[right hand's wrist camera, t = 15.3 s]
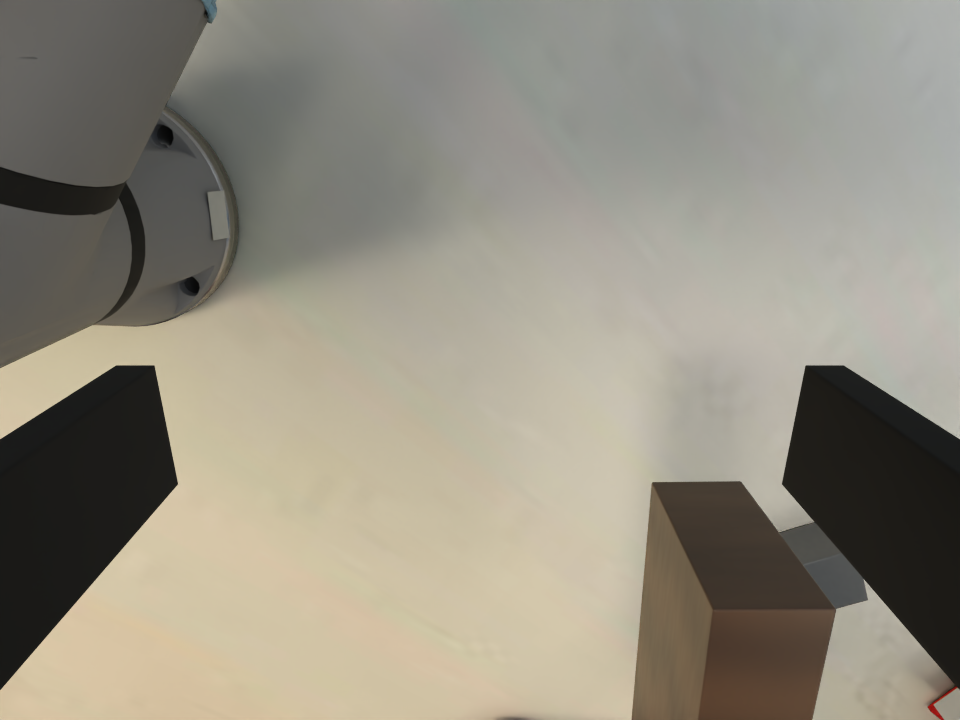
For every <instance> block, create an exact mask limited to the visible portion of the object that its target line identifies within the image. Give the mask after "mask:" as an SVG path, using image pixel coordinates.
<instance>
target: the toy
mask: <svg viewBox="0 0 960 720" xmlns="http://www.w3.org/2000/svg"><path fill="white" fill-rule="evenodd" d="M928 708H929V710H930V711H931V712H932V713H933V714H934V715H936V716H937V717H938V718H939V719H941V720H960V690H959V689H958V687H957V686H955V687H954V688H953V689H951V690H950V691H948V692H947V693H946V694H944V695H943V696H942V697H940V698H939V699H938V700H936V701H935V702H934V703H932V704H931V705H929V706H928Z"/></svg>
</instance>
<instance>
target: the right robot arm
mask: <svg viewBox="0 0 960 720" xmlns="http://www.w3.org/2000/svg"><path fill="white" fill-rule="evenodd" d="M215 2H216V0H0V368H1V367H3V366H6V365H8V364H10V363H12V362H14V361H16V360H18V359H21V358H23V357H25V356H27V355H29V354H31V353H33V352H36V351H38V350H40V349H42V348H44V347H46V346H48V345H51V344H53V343H55V342H57V341H59V340H61V339H63V338H66V337H68V336H70V335H72V334H74V333H76V332H78V331H81V330H83V329H85V328H87V327H89V326H91V325H110V326H148V325H154V324H159V323H162V322H166V321H169V320H171V319H174V318H176V317H178V316H180V315H182V314H184V313H185V312H187V311H189V310H191V309H193V308H195V307H196V306H198V305H199V304H201V303H202V302H204V301H205V300H206V299H207V298H208V297H210V296H211V295H212V294H213V293H214V292H215V290H216V289H217V288H218V287H219V286H220V284H221V283H222V282H223V280H224V279H225V277H226V275H227V273H228V272H229V269H230V267H231V265H232V262H233V259H234V256H235V253H236V248H237V243H238V233H239V220H238V210H237V204H236V199H235V195H234V192H233V189H232V185H231V183H230V180H229V178H228V175H227V173H226V171H225V169H224V167H223V165H222V163H221V162H220V160H219V158H218V157H217V155H216V153H215V152H214V151H213V149H212V148H211V146H210V145H209V144H208V142H207V141H206V140H205V139H204V138H203V137H202V135H201V134H200V133H199V132H198V131H197V130H196V129H195V128H194V127H193V126H192V125H191V124H189V123H188V122H187V121H186V120H185V119H183V118H182V117H181V116H180V115H178V114H177V113H175V112H174V111H172V110H171V109H169V108H168V107H166V104H167V102H168V100H169V98H170V96H171V94H172V92H173V90H174V88H175V86H176V84H177V82H178V80H179V78H180V75H181V73H182V71H183V69H184V67H185V65H186V63H187V61H188V59H189V57H190V55H191V53H192V51H193V49H194V47H195V45H196V43H197V41H198V39H199V37H200V35H201V33H202V31H203V29H204V27H205V25H206V23H207V22H208V23H212V22H213V20H214V18H215V17H216V13H217V7H216V3H215ZM177 485H178V482H177V477H176V472H175V467H174V462H173V457H172V452H171V447H170V442H169V437H168V432H167V427H166V422H165V417H164V412H163V407H162V402H161V397H160V391H159V386H158V381H157V376H156V371H155V366H115V367H113V368H112V369H110V370H109V371H107V372H105V373H104V374H102V375H101V376H99V377H98V378H96V379H94V380H93V381H91V382H90V383H88V384H87V385H85V386H83V387H82V388H80V389H79V390H77V391H76V392H74V393H72V394H71V395H69V396H68V397H66V398H65V399H63V400H61V401H60V402H58V403H57V404H55V405H54V406H52V407H50V408H49V409H47V410H46V411H44V412H43V413H41V414H39V415H38V416H36V417H35V418H33V419H32V420H30V421H28V422H27V423H25V424H24V425H22V426H21V427H19V428H17V429H16V430H14V431H13V432H11V433H10V434H8V435H6V436H5V437H3V438H2V439H0V690H1V689H2V687H3V686H4V685H5V684H6V683H7V682H8V680H9V679H10V678H11V677H12V676H13V675H14V674H15V672H16V671H17V670H18V669H19V668H20V667H21V665H22V664H23V663H24V662H25V661H26V660H27V658H28V657H29V656H30V655H31V654H32V653H33V651H34V650H35V649H36V648H37V647H38V646H39V645H40V643H41V642H42V641H43V640H44V639H45V638H46V636H47V635H48V634H49V633H50V632H51V631H52V629H53V628H54V627H55V626H56V625H57V624H58V623H59V621H60V620H61V619H62V618H63V617H64V616H65V614H66V613H67V612H68V611H69V610H70V609H71V607H72V606H73V605H74V604H75V603H76V602H77V601H78V599H79V598H80V597H81V596H82V595H83V594H84V592H85V591H86V590H87V589H88V588H89V587H90V585H91V584H92V583H93V582H94V581H95V580H96V579H97V577H98V576H99V575H100V574H101V573H102V572H103V570H104V569H105V568H106V567H107V566H108V565H109V563H110V562H111V561H112V560H113V559H114V558H115V556H116V555H117V554H118V553H119V552H120V551H121V550H122V548H123V547H124V546H125V545H126V544H127V543H128V541H129V540H130V539H131V538H132V537H133V536H134V534H135V533H136V532H137V531H138V530H139V529H140V528H141V526H142V525H143V524H144V523H145V522H146V521H147V519H148V518H149V517H150V516H151V515H152V514H153V512H154V511H155V510H156V509H157V508H158V507H159V506H160V504H161V503H162V502H163V501H164V500H165V499H166V497H167V496H168V495H169V494H170V493H171V492H172V490H173V489H174V488H175V487H176V486H177ZM782 485H783V486H784V487H785V488H786V489H787V490H788V492H789V493H790V494H791V495H792V496H793V497H794V499H795V500H796V501H797V502H798V503H799V504H800V506H801V507H802V508H803V509H804V510H805V511H806V512H807V514H808V515H809V516H810V517H811V518H812V519H813V521H814V522H815V523H816V524H817V525H818V526H819V528H820V529H821V530H822V531H823V532H824V533H825V534H826V536H827V537H828V538H829V539H830V540H831V541H832V543H833V544H834V545H835V546H836V547H837V548H838V550H839V551H840V552H841V553H842V554H843V555H844V557H845V558H846V559H847V560H848V561H849V562H850V563H851V565H852V566H853V567H854V568H855V569H856V570H857V572H858V573H859V574H860V575H861V576H862V577H863V579H864V580H865V581H866V582H867V583H868V584H869V585H870V587H871V588H872V589H873V590H874V591H875V592H876V594H877V595H878V596H879V597H880V598H881V599H882V601H883V602H884V603H885V604H886V605H887V606H888V607H889V609H890V610H891V611H892V612H893V613H894V614H895V616H896V617H897V618H898V619H899V620H900V621H901V623H902V624H903V625H904V626H905V627H906V628H907V629H908V631H909V632H910V633H911V634H912V635H913V636H914V638H915V639H916V640H917V641H918V642H919V643H920V645H921V646H922V647H923V648H924V649H925V650H926V651H927V653H928V654H929V655H930V656H931V657H932V658H933V660H934V661H935V662H936V663H937V664H938V665H939V667H940V668H941V669H942V670H943V671H944V672H945V674H946V675H947V676H948V677H949V678H950V679H951V680H952V682H953V683H954V684H955V685H956V686H957V687H958V689H959V690H960V439H958V438H957V437H955V436H954V435H952V434H950V433H949V432H947V431H946V430H944V429H943V428H941V427H939V426H938V425H936V424H935V423H933V422H932V421H930V420H928V419H927V418H925V417H924V416H922V415H921V414H919V413H917V412H916V411H914V410H913V409H911V408H910V407H908V406H906V405H905V404H903V403H902V402H900V401H899V400H897V399H895V398H894V397H892V396H891V395H889V394H888V393H886V392H884V391H883V390H881V389H880V388H878V387H877V386H875V385H873V384H872V383H870V382H869V381H867V380H866V379H864V378H862V377H861V376H859V375H858V374H856V373H855V372H853V371H851V370H850V369H848V368H847V367H845V366H805V371H804V376H803V381H802V386H801V391H800V396H799V402H798V407H797V412H796V417H795V422H794V427H793V432H792V437H791V442H790V447H789V452H788V457H787V462H786V467H785V472H784V477H783V482H782Z"/></svg>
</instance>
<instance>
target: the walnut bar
mask: <svg viewBox="0 0 960 720" xmlns="http://www.w3.org/2000/svg"><path fill="white" fill-rule="evenodd" d="M835 613H836V609H835V607H834V606H833V604H832V603H831V602H830V600H829V599H828V598H827V596H826V595H825V594H824V592H823V591H822V590H821V588H820V587H819V586H818V584H817V583H816V582H815V580H814V579H813V577H812V576H811V575H810V573H809V572H808V571H807V569H806V568H805V567H804V565H803V564H802V563H801V561H800V560H799V559H798V557H797V556H796V555H795V553H794V552H793V551H792V549H791V548H790V547H789V545H788V544H787V543H786V541H785V540H784V539H783V537H782V536H781V535H780V533H779V532H778V531H777V529H776V528H775V527H774V525H773V524H772V523H771V521H770V520H769V519H768V517H767V516H766V514H765V513H764V512H763V510H762V509H761V508H760V506H759V505H758V504H757V502H756V501H755V500H754V498H753V497H752V496H751V494H750V493H749V492H748V490H747V489H746V488H745V486H744V485H743V484H742V482H740V481H729V482H653V483H652V488H651V499H650V511H649V523H648V534H647V546H646V558H645V569H644V581H643V593H642V604H641V616H640V628H639V639H638V651H637V663H636V674H635V686H634V698H633V709H632V720H812V718H813V713H814V709H815V704H816V700H817V695H818V690H819V686H820V681H821V677H822V672H823V668H824V663H825V659H826V654H827V649H828V645H829V640H830V636H831V631H832V627H833V622H834V617H835Z"/></svg>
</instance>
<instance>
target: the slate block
mask: <svg viewBox="0 0 960 720" xmlns="http://www.w3.org/2000/svg"><path fill="white" fill-rule="evenodd" d="M780 535H781V536H782V537H783V539H784V540H785V541H786V543H787V544H788V545H789V547H790V548H791V549H792V551H793V552H794V553H795V555H796V556H797V557H798V559H799V560H800V561H801V563H802V564H803V565H804V567H805V568H806V569H807V571H808V572H809V573H810V575H811V576H812V577H813V579H814V580H815V582H816V583H817V584H818V586H819V587H820V588H821V590H822V591H823V592H824V594H825V595H826V596H827V598H828V599H829V600H830V602H831V603H832V604H833V606H834V607H835V609H837V608H841V607H844V606H848V605H852V604H855V603H859V602H863V601H866V600H868V598H867V594H866V589H865V584H864V580H863V577H862V576H861V575H860V574H859V573H858V572H857V570H856V569H855V568H854V567H853V566H852V565H851V563H850V562H849V561H848V560H847V559H846V558H845V557H844V555H843V554H842V553H841V552H840V551H839V550H838V548H837V547H836V546H835V545H834V544H833V543H832V541H831V540H830V539H829V538H828V537H827V536H826V534H825V533H824V532H823V531H822V530H821V529H820V528H819V526H818V525H817V524H816V523H815V522H814V523H811V524H808V525H804V526H801V527H797V528H794V529H791V530H787V531H784V532H780Z"/></svg>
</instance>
